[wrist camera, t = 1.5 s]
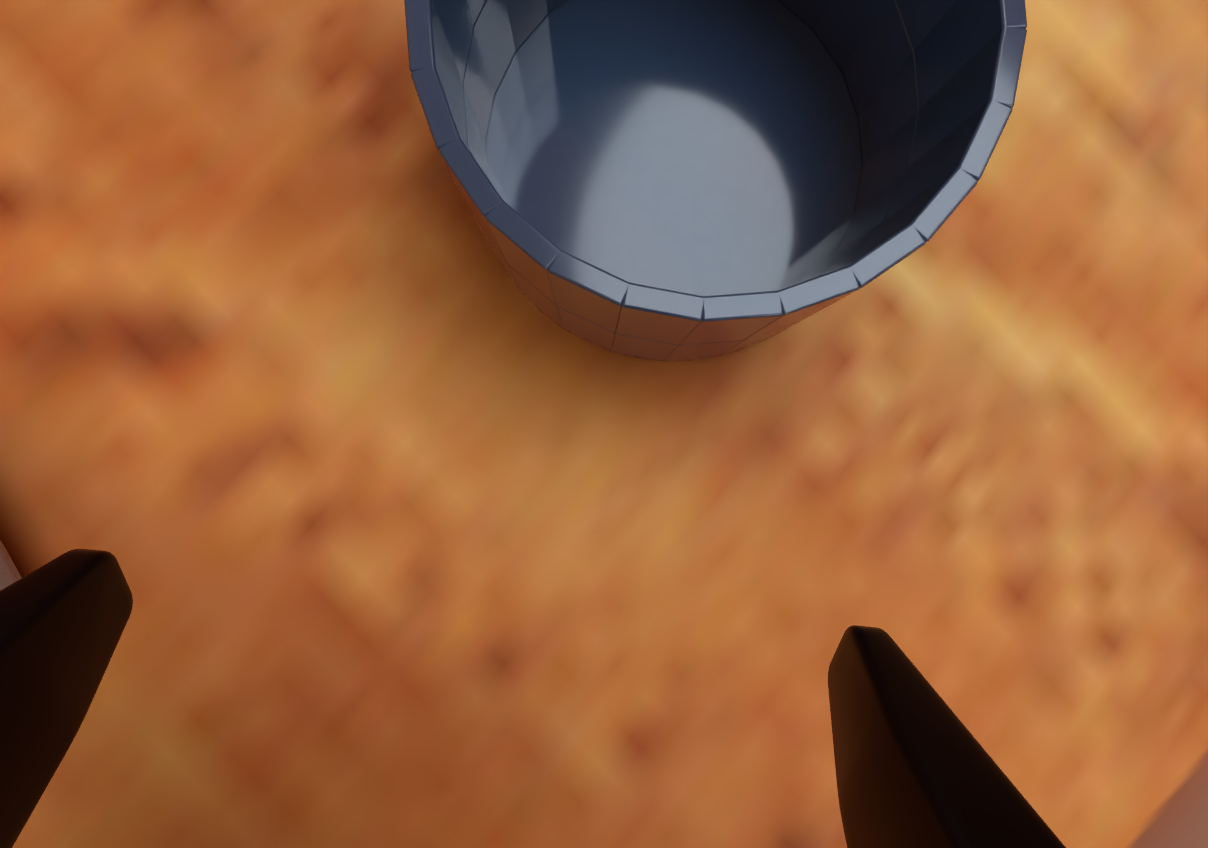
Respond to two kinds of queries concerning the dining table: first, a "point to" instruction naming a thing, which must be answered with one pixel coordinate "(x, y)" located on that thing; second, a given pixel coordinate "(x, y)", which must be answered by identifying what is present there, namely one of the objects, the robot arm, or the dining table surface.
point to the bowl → (710, 149)
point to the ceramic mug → (7, 569)
